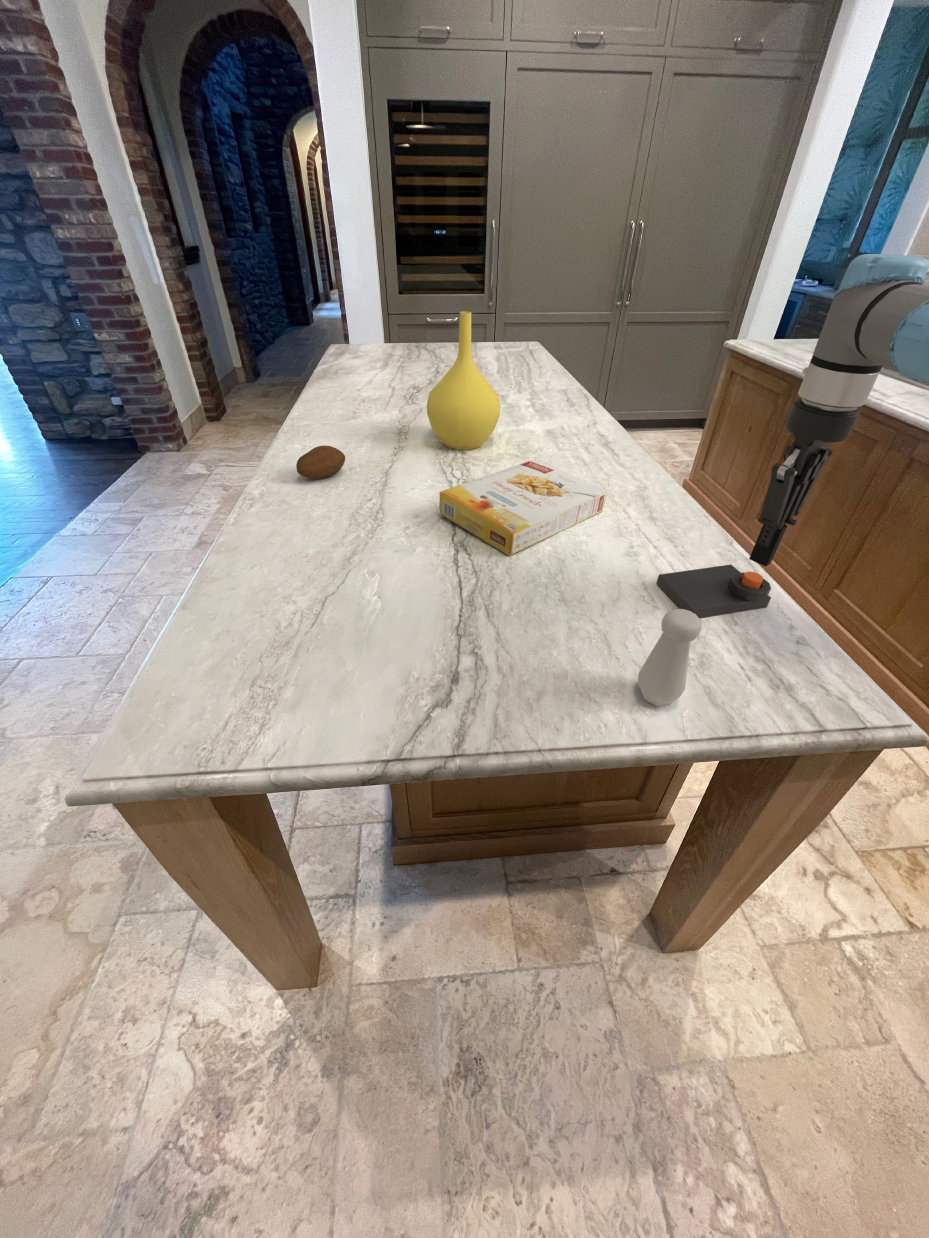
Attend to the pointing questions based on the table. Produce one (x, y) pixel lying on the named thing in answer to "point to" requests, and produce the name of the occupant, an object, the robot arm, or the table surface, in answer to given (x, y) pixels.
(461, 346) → the vase
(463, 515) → the cereal box
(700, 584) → the scale
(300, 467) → the potato
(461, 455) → the table surface
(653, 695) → the salt shaker
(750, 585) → the button
